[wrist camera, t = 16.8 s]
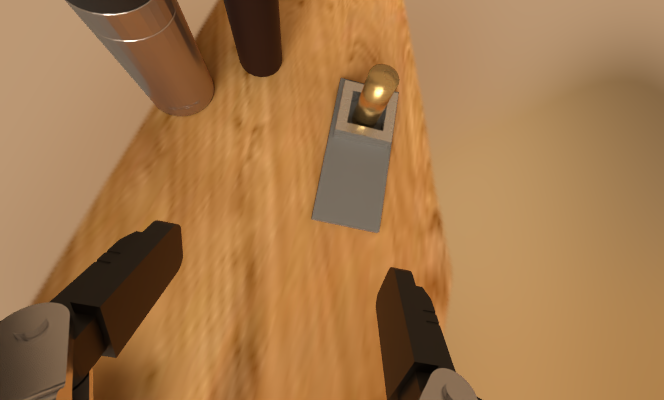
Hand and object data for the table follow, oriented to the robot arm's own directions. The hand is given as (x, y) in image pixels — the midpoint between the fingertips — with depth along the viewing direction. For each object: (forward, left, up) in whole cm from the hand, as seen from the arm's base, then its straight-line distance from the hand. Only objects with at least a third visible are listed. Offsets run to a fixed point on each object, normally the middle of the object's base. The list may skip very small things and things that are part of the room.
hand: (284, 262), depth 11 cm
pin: (-17, +18, -28) cm, 37 cm away
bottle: (-33, +6, -29) cm, 44 cm away
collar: (-17, +18, -28) cm, 37 cm away
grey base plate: (-13, +15, -29) cm, 35 cm away
